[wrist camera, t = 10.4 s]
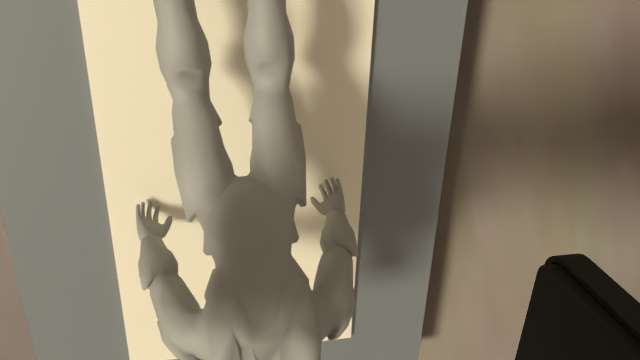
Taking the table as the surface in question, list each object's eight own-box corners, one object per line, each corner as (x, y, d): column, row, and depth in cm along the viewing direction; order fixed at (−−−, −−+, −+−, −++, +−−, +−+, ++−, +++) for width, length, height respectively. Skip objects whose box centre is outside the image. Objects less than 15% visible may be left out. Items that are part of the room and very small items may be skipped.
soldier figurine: (105, -14, 16) (161, 375, 17) (51, -88, 11) (136, 476, 12) (314, -27, 17) (355, 339, 18) (356, -100, 12) (410, 418, 13)
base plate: (-65, -171, 13) (-97, -183, 12) (463, -138, 16) (491, -144, 15) (58, 383, 21) (48, 418, 19) (404, 339, 24) (419, 367, 22)
